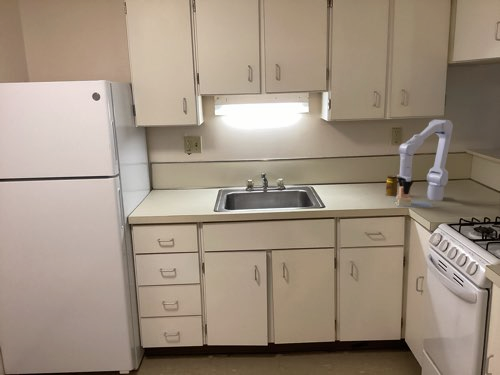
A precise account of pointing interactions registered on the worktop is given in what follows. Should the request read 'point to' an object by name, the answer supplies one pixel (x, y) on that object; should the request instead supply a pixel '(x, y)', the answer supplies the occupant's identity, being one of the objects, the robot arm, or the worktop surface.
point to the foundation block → (403, 201)
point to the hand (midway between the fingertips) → (404, 192)
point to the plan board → (416, 204)
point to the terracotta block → (403, 193)
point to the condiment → (391, 186)
